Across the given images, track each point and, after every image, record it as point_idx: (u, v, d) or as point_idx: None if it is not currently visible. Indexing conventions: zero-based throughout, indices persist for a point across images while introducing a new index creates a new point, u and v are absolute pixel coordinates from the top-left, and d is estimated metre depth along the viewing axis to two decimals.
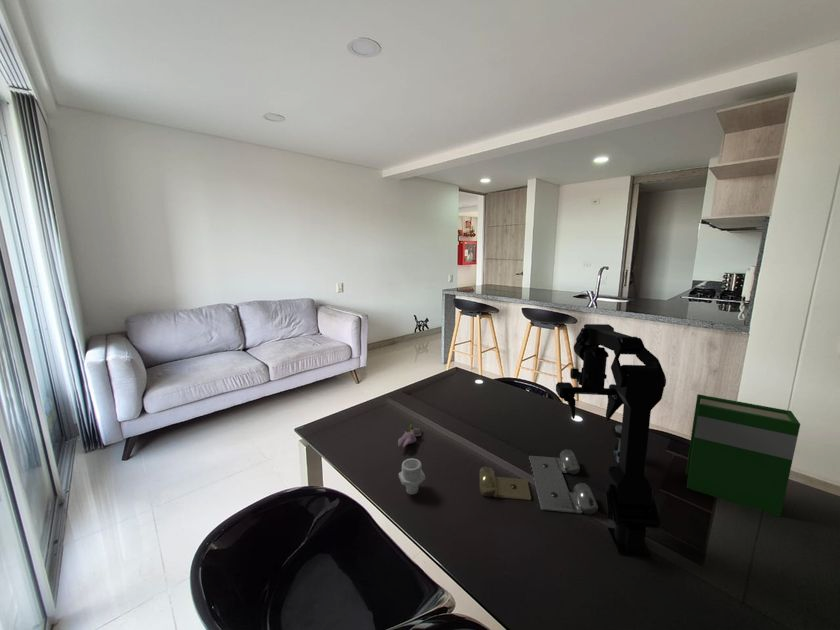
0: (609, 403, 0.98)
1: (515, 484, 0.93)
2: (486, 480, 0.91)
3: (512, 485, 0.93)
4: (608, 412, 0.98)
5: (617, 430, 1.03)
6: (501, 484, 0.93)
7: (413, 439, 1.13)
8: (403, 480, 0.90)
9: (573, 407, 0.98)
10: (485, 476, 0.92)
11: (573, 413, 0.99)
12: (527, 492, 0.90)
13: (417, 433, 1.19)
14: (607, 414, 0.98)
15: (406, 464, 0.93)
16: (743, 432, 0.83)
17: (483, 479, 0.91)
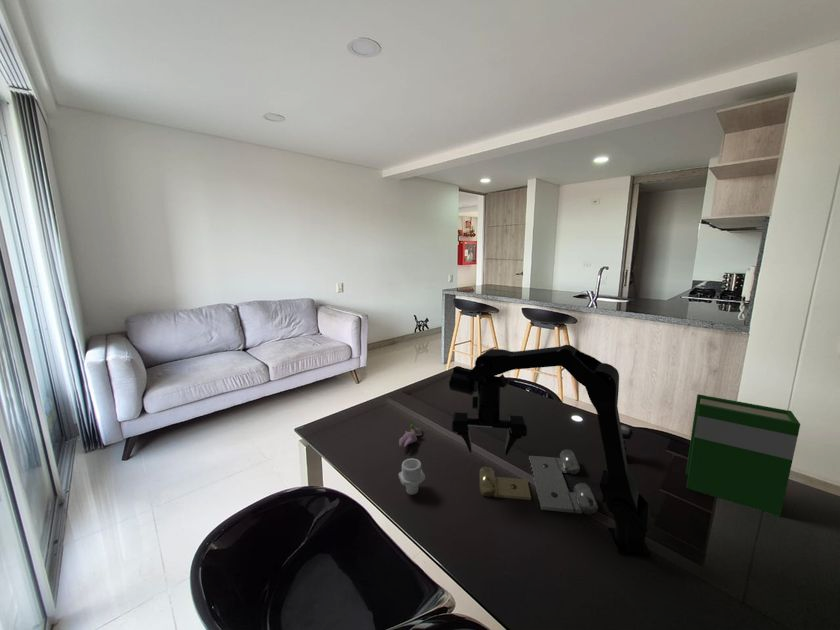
0: (507, 436, 0.90)
1: (515, 484, 0.93)
2: (486, 480, 0.91)
3: (512, 485, 0.93)
4: (506, 446, 0.90)
5: None
6: (501, 484, 0.93)
7: (414, 439, 1.14)
8: (403, 480, 0.90)
9: (467, 441, 0.90)
10: (485, 476, 0.92)
11: (469, 447, 0.91)
12: (527, 492, 0.90)
13: (418, 433, 1.19)
14: (505, 449, 0.90)
15: (406, 464, 0.93)
16: (743, 432, 0.83)
17: (483, 479, 0.91)
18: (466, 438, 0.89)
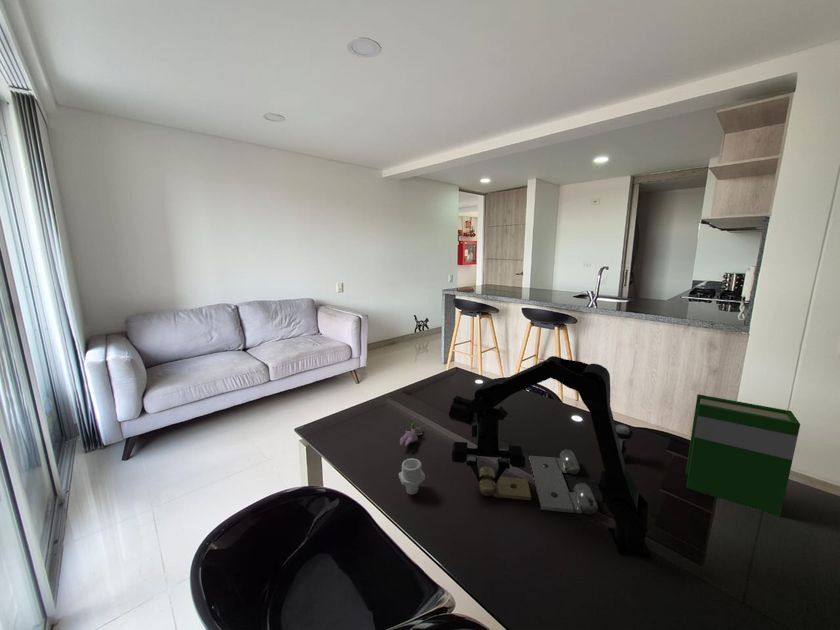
0: (496, 465, 0.92)
1: (515, 484, 0.93)
2: (486, 479, 0.91)
3: (512, 484, 0.93)
4: (495, 475, 0.92)
5: (617, 430, 1.03)
6: (501, 483, 0.93)
7: (415, 438, 1.14)
8: (403, 480, 0.90)
9: (476, 471, 0.91)
10: (485, 476, 0.92)
11: (477, 477, 0.92)
12: (527, 491, 0.90)
13: (418, 432, 1.19)
14: None
15: (406, 464, 0.93)
16: (743, 432, 0.83)
17: (483, 479, 0.91)
18: (475, 469, 0.90)
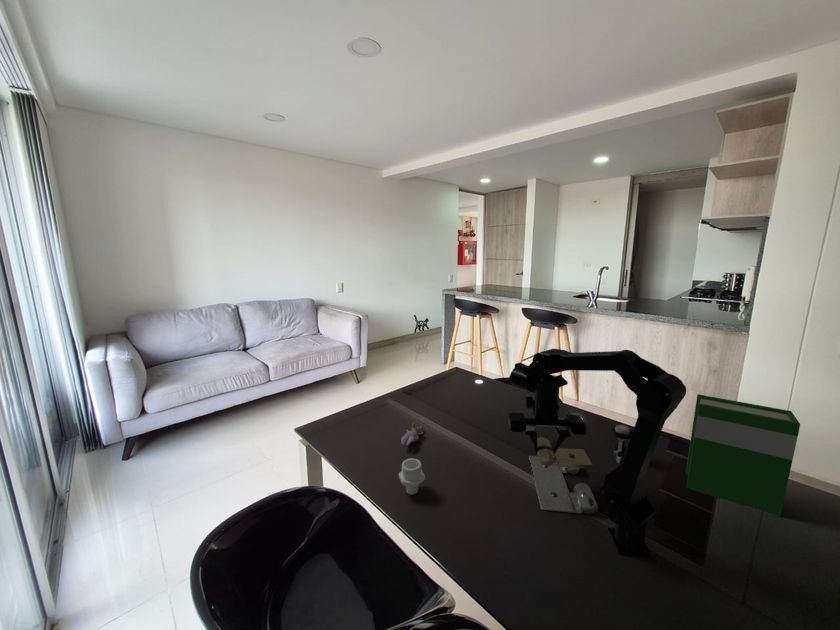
0: (555, 435, 0.90)
1: (573, 454, 0.91)
2: (545, 449, 0.89)
3: (570, 454, 0.91)
4: (554, 445, 0.90)
5: (617, 430, 1.03)
6: (559, 454, 0.91)
7: (416, 437, 1.14)
8: (403, 480, 0.90)
9: (535, 441, 0.89)
10: (543, 446, 0.90)
11: (535, 447, 0.90)
12: (587, 460, 0.88)
13: (419, 431, 1.20)
14: (552, 447, 0.91)
15: (406, 464, 0.93)
16: (743, 432, 0.83)
17: (542, 449, 0.89)
18: (534, 438, 0.88)
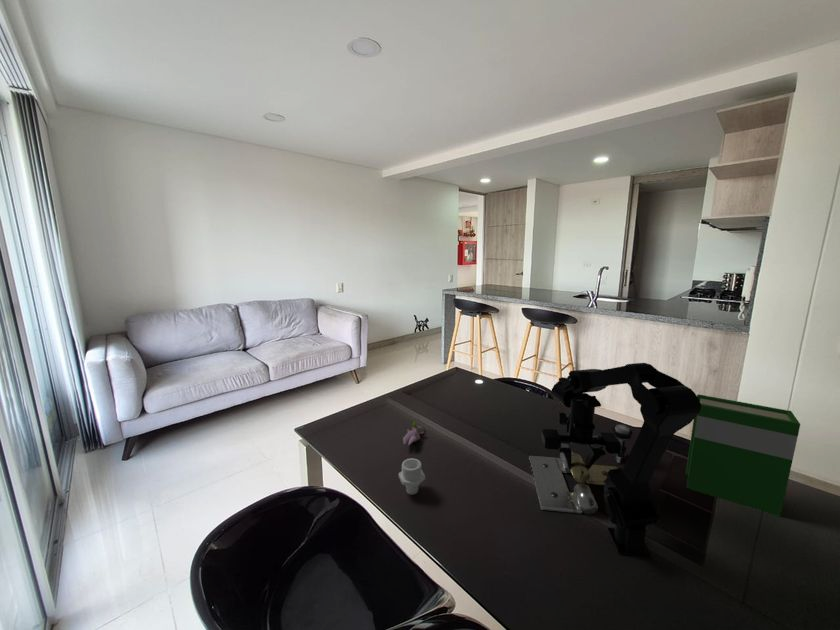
0: (588, 452, 0.91)
1: (606, 471, 0.92)
2: (579, 466, 0.90)
3: (603, 472, 0.92)
4: (587, 462, 0.91)
5: (617, 430, 1.03)
6: (592, 471, 0.93)
7: (417, 437, 1.15)
8: (403, 480, 0.90)
9: (569, 458, 0.90)
10: (577, 463, 0.91)
11: (569, 464, 0.91)
12: None
13: (420, 431, 1.20)
14: (586, 464, 0.92)
15: (406, 464, 0.93)
16: (743, 432, 0.83)
17: (576, 465, 0.91)
18: (568, 456, 0.90)
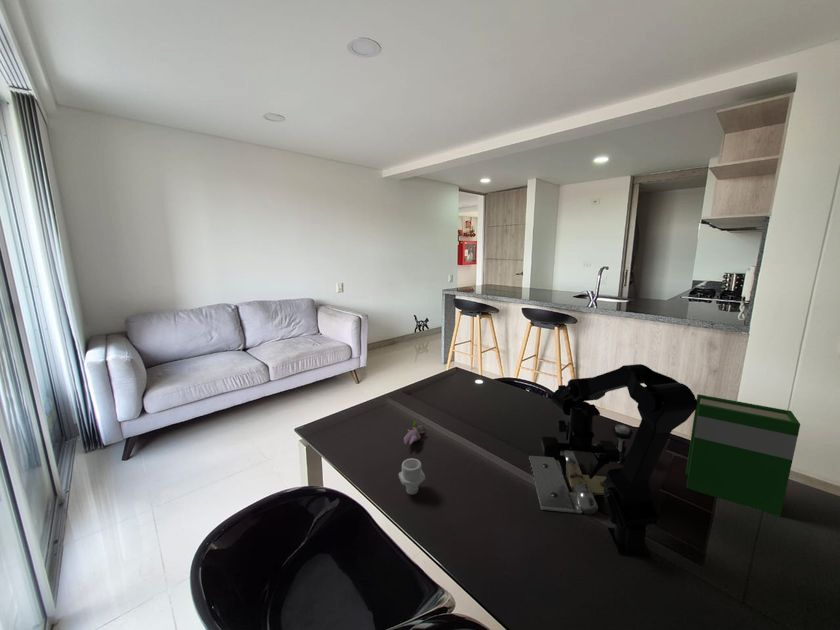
0: (592, 460, 0.92)
1: None
2: (578, 478, 0.91)
3: (601, 483, 0.93)
4: (591, 470, 0.92)
5: (617, 430, 1.03)
6: (590, 482, 0.93)
7: (418, 436, 1.15)
8: (403, 480, 0.90)
9: (564, 466, 0.91)
10: (575, 474, 0.92)
11: (564, 471, 0.92)
12: None
13: (420, 430, 1.20)
14: (590, 472, 0.92)
15: (406, 464, 0.93)
16: (743, 432, 0.83)
17: (574, 477, 0.91)
18: (563, 463, 0.90)
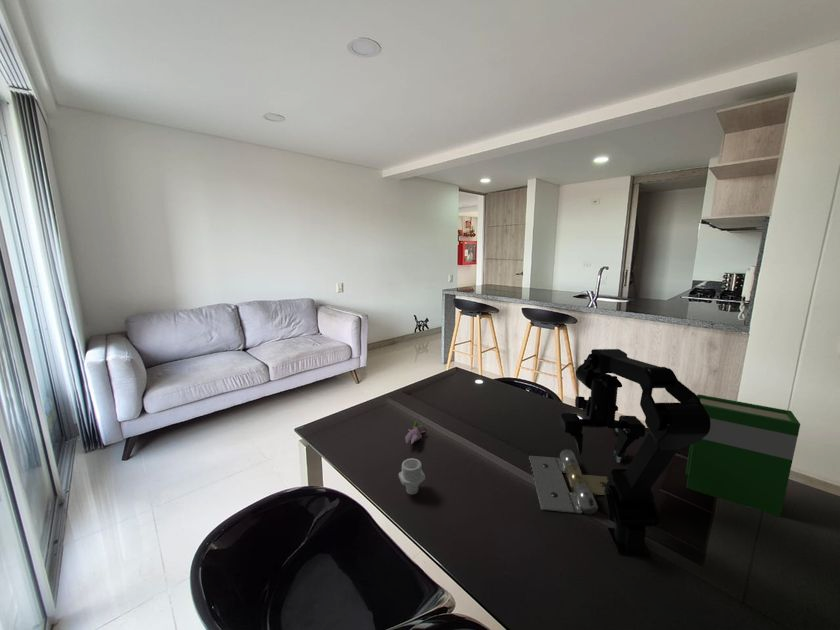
0: (620, 437, 0.87)
1: (604, 482, 0.93)
2: (578, 478, 0.91)
3: (601, 483, 0.93)
4: (619, 447, 0.87)
5: (617, 430, 1.03)
6: (590, 482, 0.93)
7: (419, 436, 1.15)
8: (403, 480, 0.90)
9: (580, 442, 0.86)
10: (575, 474, 0.92)
11: (580, 449, 0.87)
12: None
13: (421, 430, 1.21)
14: (617, 450, 0.87)
15: (406, 464, 0.93)
16: (743, 432, 0.83)
17: (574, 477, 0.91)
18: (579, 439, 0.86)
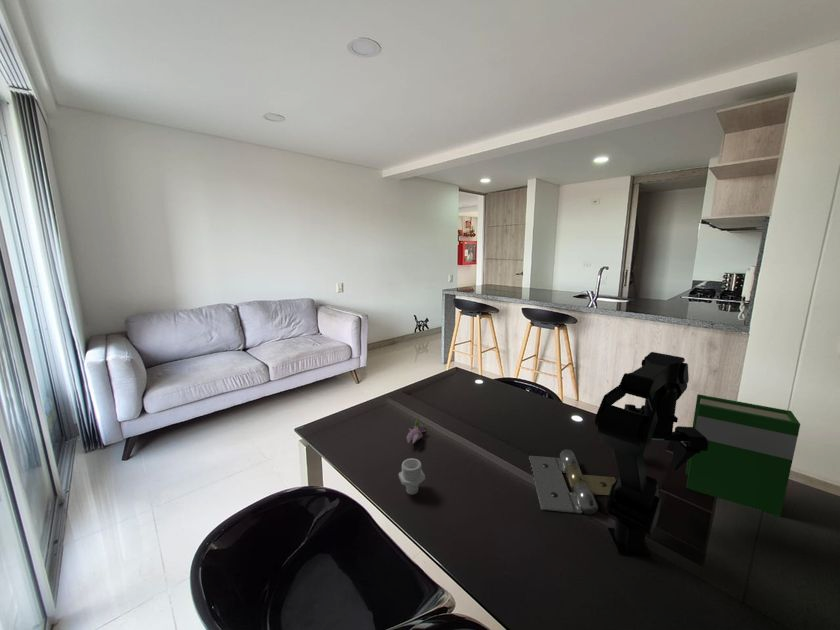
0: (677, 450, 0.80)
1: (604, 482, 0.93)
2: (578, 478, 0.91)
3: (601, 483, 0.93)
4: (676, 461, 0.79)
5: None
6: (590, 482, 0.93)
7: (420, 435, 1.16)
8: (403, 480, 0.90)
9: None
10: (575, 474, 0.92)
11: None
12: None
13: (421, 429, 1.21)
14: (673, 464, 0.80)
15: (406, 464, 0.93)
16: (743, 432, 0.83)
17: (574, 477, 0.91)
18: None
